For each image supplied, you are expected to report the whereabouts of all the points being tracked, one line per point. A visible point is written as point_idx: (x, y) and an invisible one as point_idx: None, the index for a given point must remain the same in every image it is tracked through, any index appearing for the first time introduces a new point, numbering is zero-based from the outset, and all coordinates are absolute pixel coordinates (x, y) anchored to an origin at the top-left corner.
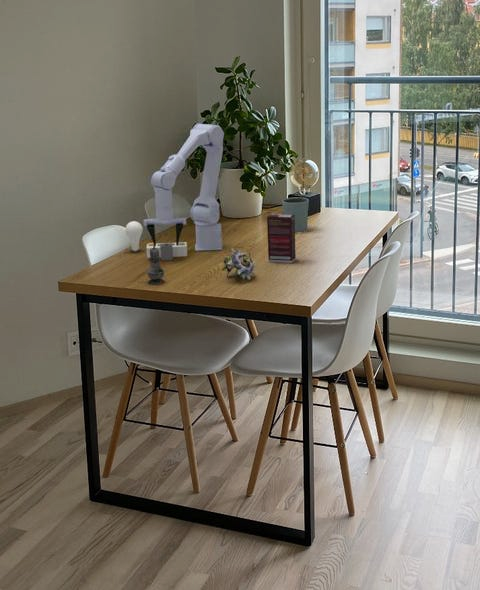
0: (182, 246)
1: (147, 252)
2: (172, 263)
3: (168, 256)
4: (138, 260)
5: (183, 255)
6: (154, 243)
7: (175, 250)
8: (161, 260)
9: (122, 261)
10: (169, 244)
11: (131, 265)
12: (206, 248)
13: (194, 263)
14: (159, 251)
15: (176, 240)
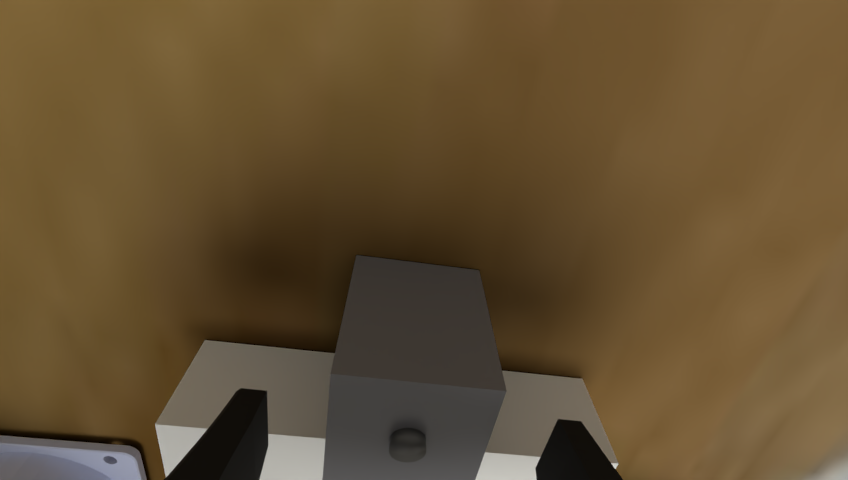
0: None
1: (594, 420)
2: (372, 117)
3: (399, 284)
4: (683, 332)
5: (239, 349)
6: (594, 455)
7: (305, 401)
8: (476, 270)
9: (826, 341)
10: (362, 440)
11: (838, 183)
12: (27, 456)
13: (69, 16)
14: None
15: (228, 452)
